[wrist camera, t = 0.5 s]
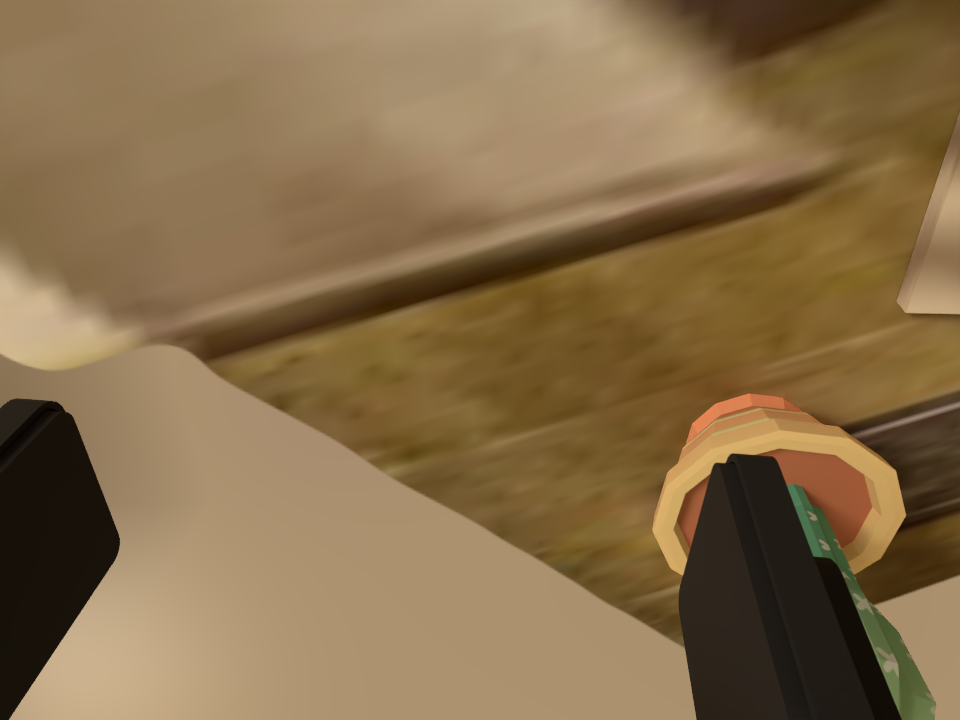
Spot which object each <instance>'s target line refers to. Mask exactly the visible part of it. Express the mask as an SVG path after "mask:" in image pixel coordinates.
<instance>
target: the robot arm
mask: <svg viewBox="0 0 960 720" xmlns="http://www.w3.org/2000/svg"><path fill="white" fill-rule="evenodd" d="M119 546H120V538H119V534H118V531H117V529H116V526H115V524H114V521H113V519H112V516H111V513H110V511H109V508H108V506H107V503H106V501H105V498H104V495H103V493H102V490H101V487H100V485H99V483H98V480H97V477H96V474H95V472H94V469H93V467H92V464H91V462H90V459H89V456H88V454H87V451H86V449H85V446H84V443H83V441H82V439H81V436H80V433H79V430H78V428H77V425H76V423H75V421H74V418H73V417H72V415H71V414H69V413H67V412H65V410H64V409H63V407H62V406H61V405H60V404H59V403H57V402H53V401H44V400H31V399H13V400H10V401H9V402H7V403H6V404H4V405H3V406H2V407H1V408H0V720H9V718H10V717H11V715H12V714H13V712H14V711H15V709H16V708H17V706H18V705H19V703H20V702H21V700H22V699H23V697H24V696H25V694H26V693H27V691H28V690H29V688H30V687H31V685H32V684H33V682H34V681H35V679H36V678H37V676H38V675H39V673H40V672H41V670H42V669H43V667H44V666H45V664H46V663H47V661H48V660H49V658H50V657H51V655H52V654H53V652H54V651H55V649H56V648H57V646H58V645H59V643H60V642H61V640H62V639H63V637H64V636H65V634H66V633H67V631H68V630H69V628H70V627H71V625H72V624H73V622H74V621H75V619H76V618H77V616H78V615H79V613H80V612H81V610H82V609H83V607H84V606H85V604H86V603H87V601H88V600H89V598H90V596H91V595H92V594H93V592H94V590H95V589H96V588H97V586H98V585H99V583H100V582H101V580H102V579H103V577H104V576H105V574H106V573H107V571H108V570H109V568H110V567H111V565H112V564H113V562H114V561H115V559H116V557H117V554H118V551H119ZM679 613H680V619H681V626H682V632H683V638H684V644H685V650H686V656H687V663H688V669H689V675H690V681H691V687H692V693H693V700H694V706H695V711H696V718H697V720H902V719H901V716H900V714H899V711H898V709H897V706H896V704H895V701H894V699H893V697H892V694H891V692H890V689H889V687H888V684H887V682H886V679H885V677H884V675H883V672H882V670H881V667H880V665H879V662H878V660H877V657H876V655H875V653H874V650H873V648H872V645H871V643H870V640H869V638H868V635H867V633H866V631H865V628H864V626H863V623H862V621H861V618H860V616H859V613H858V611H857V609H856V606H855V604H854V601H853V599H852V596H851V594H850V591H849V589H848V587H847V584H846V582H845V579H844V577H843V574H842V573H841V571H840V569H839V567H838V565H837V564H836V563H835V562H834V561H833V560H832V559H831V558H825V557H815V556H813V554H812V551H811V548H810V546H809V543H808V541H807V538H806V535H805V533H804V530H803V527H802V525H801V522H800V519H799V517H798V514H797V511H796V509H795V506H794V503H793V501H792V498H791V495H790V493H789V490H788V487H787V485H786V482H785V479H784V477H783V474H782V471H781V469H780V466H779V464H778V462H777V460H776V459H775V458H774V457H773V456H761V455H748V454H735V453H733V454H730V455H729V457H728V458H727V461H726V463H715V464H714V465H713V468H712V470H711V474H710V478H709V482H708V485H707V489H706V493H705V496H704V500H703V504H702V507H701V511H700V515H699V518H698V522H697V526H696V529H695V533H694V537H693V541H692V544H691V548H690V552H689V555H688V559H687V563H686V566H685V570H684V574H683V577H682V581H681V585H680V590H679Z"/></svg>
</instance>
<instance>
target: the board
mask: <svg viewBox="0 0 960 720" xmlns="http://www.w3.org/2000/svg"><path fill="white" fill-rule="evenodd" d="M897 302H898V304H899V305H900V306H901V307H902V309H903V310H904V311H905V312H906V313H932V314H960V112H959V115H958V118H957V121H956V124H955V127H954V130H953V133H952V136H951V139H950V142H949V145H948V148H947V151H946V154H945V157H944V160H943V163H942V166H941V169H940V172H939V175H938V178H937V181H936V184H935V187H934V190H933V193H932V196H931V199H930V202H929V205H928V208H927V211H926V214H925V217H924V220H923V223H922V226H921V229H920V232H919V235H918V238H917V241H916V244H915V247H914V250H913V253H912V256H911V259H910V262H909V265H908V268H907V271H906V274H905V277H904V280H903V283H902V286H901V289H900V292H899V295H898V298H897Z"/></svg>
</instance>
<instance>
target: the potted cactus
mask: <svg viewBox="0 0 960 720" xmlns="http://www.w3.org/2000/svg"><path fill="white" fill-rule="evenodd" d="M733 453H735V454H748V455H761V456H773V457H774V458H775V459H776V460H777V462H778V464H779V466H780V469H781V471H782V474H783V477H784V479H785V482H786V485H787V487H788V490H789V493H790V495H791V498H792V501H793V503H794V506H795V509H796V511H797V514H798V517H799V519H800V522H801V525H802V527H803V530H804V533H805V535H806V538H807V541H808V543H809V546H810V548H811V551H812V554H813V556H815V557H825V558H831V559H832V560H833V561H834V562H835V563H836V564H837V565H838V567H839V569H840V571H841V573H842V574H843V577H844V579H845V582H846V584H847V587H848V589H849V591H850V594H851V596H852V599H853V601H854V604H855V606H856V609H857V611H858V613H859V616H860V618H861V621H862V623H863V626H864V628H865V631H866V633H867V635H868V638H869V640H870V643H871V645H872V648H873V650H874V653H875V655H876V657H877V660H878V662H879V665H880V667H881V670H882V672H883V675H884V677H885V679H886V682H887V684H888V687H889V689H890V692H891V694H892V697H893V699H894V701H895V704H896V706H897V709H898V711H899V714H900V716H901V719H902V720H934V719H935V709H936V702H935V701H934V699H933V697H932V695H931V693H930V691H929V689H928V688H927V685H926V684H925V682H924V680H923V678H922V676H921V674H920V672H919V670H918V668H917V666H916V665H915V663H914V661H913V659H912V657H911V655H910V653H909V652H908V649H907V647H906V646H905V644H904V642H903V640H902V638H901V636H900V634H899V632H898V631H897V630H896V629H895V628H894V627H893V626H892V625H891V624H890V623H889V622H888V620H886V618H885V617H884V616H883V615H882V614H881V613H880V612H879V611H878V610H877V609H876V608H875V607H874V605H873V604H872V603H871V602H870V601H869V600H868V599H867V598H866V597H865V595H864V593H863V592H862V591H861V589H860V586H859V584H858V582H857V580H856V578H855V576H854V575H855V574H856V573H858V572H860V571H861V570H863V569H864V568H866V567H868V566H869V565H871V564H873V563H874V562H876V561H878V560H879V559H881V557H882V556H883V554H884V552H885V551H886V549H887V547H888V546H889V544H890V542H891V540H892V539H893V537H894V535H895V534H896V532H897V530H898V529H899V527H900V525H901V523H902V522H903V520H904V518H905V517H906V513H905V509H904V504H903V500H902V495H901V491H900V486H899V482H898V478H897V473H896V470H895V469H894V468H892V467H891V466H890V465H889V464H888V463H887V462H886V461H885V460H884V459H883V458H882V457H881V456H879V455H878V454H877V453H875V452H874V451H872V450H871V449H869V448H868V447H867V446H865V445H864V444H862V443H861V442H860V441H858V440H857V439H855V438H854V437H852V436H851V435H850V434H848V433H847V432H845V431H844V430H842V429H841V428H840V427H838V426H831V425H824V424H822V423H821V422H819V421H818V420H816V419H815V418H814V417H812V416H811V415H809V414H808V413H805V412H803V411H802V410H800V409H799V408H798V407H796V406H795V405H793V404H792V403H790V402H789V401H787V400H786V399H785V398H783V397H775V396H767V395H758V394H750V393H749V394H746V395H742V396H739V397H736V398H732V399H729V400H725V401H722V402H718V403H716V404H714V405H713V406H712V407H711V408H710V409H709V410H707V411H706V412H705V413H704V414H703V415H702V416H700V417H699V418H698V419H697V420H696V421H695V422H693V423H692V426H691V429H690V432H689V436H688V439H687V442H686V445H685V446H684V447H683V449H682V452H681V455H680V458H679V462H678V464H677V465H675V466H674V467H673V468H672V469H671V470H669V471H668V472H667V475H666V479H665V482H664V485H663V489H662V492H661V495H660V498H659V502H658V505H657V508H656V512H655V516H654V523H653V529H652V531H653V533H654V535H655V537H656V539H657V541H658V543H659V545H660V547H661V549H662V551H663V553H664V556H665V558H666V560H667V562H668V564H669V566H670V568H671V569H672V570H674V571H676V572H678V573H679V574H681V575H683V574H684V570H685V566H686V563H687V559H688V555H689V552H690V548H691V544H692V541H693V537H694V533H695V529H696V526H697V522H698V518H699V515H700V511H701V507H702V504H703V500H704V496H705V493H706V489H707V485H708V482H709V478H710V474H711V470H712V468H713V465H714V464H715V463H726V461H727V458H728V457H729V455H730V454H733Z"/></svg>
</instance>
